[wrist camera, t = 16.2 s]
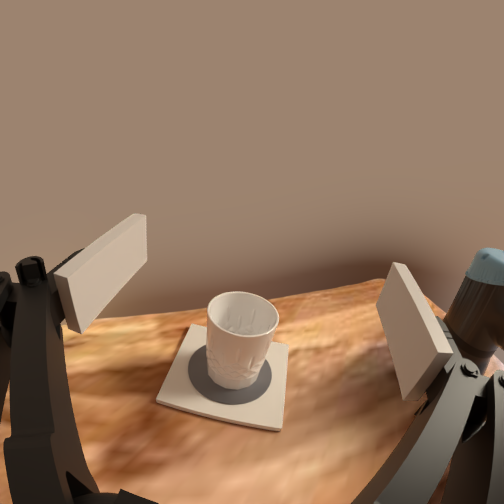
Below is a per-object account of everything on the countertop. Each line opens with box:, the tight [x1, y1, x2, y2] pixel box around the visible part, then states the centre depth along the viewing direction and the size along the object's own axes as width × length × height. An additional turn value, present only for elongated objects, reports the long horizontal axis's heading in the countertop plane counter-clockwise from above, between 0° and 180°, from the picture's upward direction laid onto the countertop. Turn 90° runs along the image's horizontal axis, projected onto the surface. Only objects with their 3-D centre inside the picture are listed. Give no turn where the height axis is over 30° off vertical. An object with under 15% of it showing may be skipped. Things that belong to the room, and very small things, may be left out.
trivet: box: [156, 324, 289, 431], centre depth 36 cm, size 15×15×1 cm
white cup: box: [206, 292, 279, 390], centre depth 34 cm, size 8×8×10 cm
